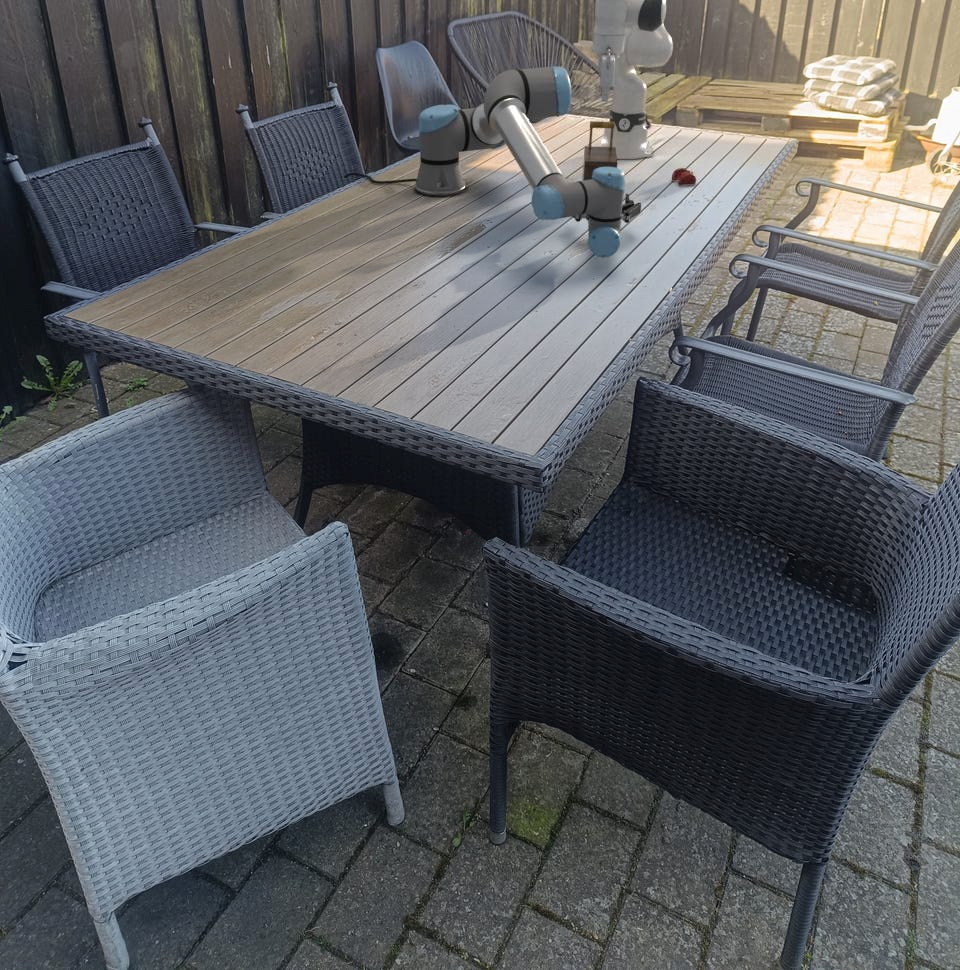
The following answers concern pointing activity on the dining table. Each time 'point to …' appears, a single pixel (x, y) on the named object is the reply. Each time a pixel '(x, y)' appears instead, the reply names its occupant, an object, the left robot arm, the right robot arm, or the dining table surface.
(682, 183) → the dark red rounded lump
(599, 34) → the right robot arm
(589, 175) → the chest
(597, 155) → the lid
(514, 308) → the dining table surface
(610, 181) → the left robot arm
